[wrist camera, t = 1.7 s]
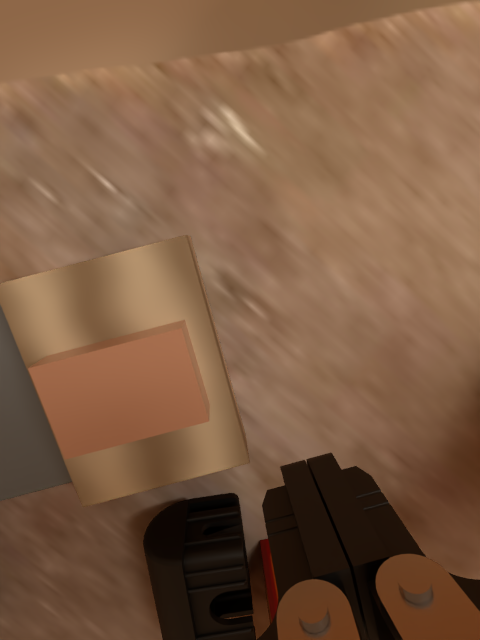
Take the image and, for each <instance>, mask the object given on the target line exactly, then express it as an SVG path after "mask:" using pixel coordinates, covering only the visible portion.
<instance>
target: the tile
mask: <svg viewBox="0 0 480 640" xmlns="http://www.w3.org/2000/svg"><path fill="white" fill-rule="evenodd" d="M28 370H29V372H30V375H31V377H32V380H33V382H34V385H35V387H36V390H37V392H38V395H39V397H40V400H41V402H42V405H43V407H44V409H45V412H46V414H47V417H48V419H49V422H50V424H51V427H52V429H53V432H54V434H55V437H56V439H57V442H58V444H59V447H60V449H61V451H62V454H63V456H64V459H65V460H66V459H69V458H73V457H77V456H81V455H85V454H88V453H92V452H96V451H100V450H103V449H107V448H111V447H115V446H119V445H122V444H126V443H130V442H134V441H137V440H141V439H145V438H149V437H152V436H156V435H160V434H164V433H168V432H171V431H175V430H179V429H183V428H186V427H190V426H194V425H198V424H202V423H205V422H209V417H210V403H209V399H208V396H207V392H206V389H205V386H204V382H203V379H202V376H201V372H200V369H199V365H198V362H197V359H196V355H195V352H194V348H193V345H192V342H191V338H190V335H189V331H188V328H187V325H186V321H185V320H181V321H177V322H174V323H170V324H166V325H162V326H158V327H155V328H151V329H147V330H143V331H139V332H136V333H132V334H128V335H124V336H120V337H117V338H113V339H109V340H105V341H101V342H97V343H94V344H90V345H86V346H82V347H78V348H75V349H71V350H67V351H63V352H59V353H56V354H52V355H48V356H46V357H44V358H43V359H41V360H40V361H38V362H37V363H35V364H34V365H32V366H31V367H29V368H28Z"/></svg>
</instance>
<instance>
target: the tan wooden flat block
mask: <svg viewBox="0 0 480 640" xmlns="http://www.w3.org/2000/svg"><path fill="white" fill-rule="evenodd" d="M0 304H1V307H2V309H3V312H4V314H5V317H6V319H7V321H8V324H9V326H10V329H11V331H12V334H13V336H14V339H15V341H16V344H17V346H18V349H19V351H20V354H21V356H22V358H23V361H24V363H25V366H26V368H27V371H28V373H29V376H30V378H31V381H32V383H33V386H34V388H35V391H36V393H37V395H38V392H37V390H36V387H35V385H34V382H33V380H32V377H31V375H30V372H29V370H28V368H29V367H31V366H32V365H34V364H35V363H37V362H38V361H40V360H41V359H43V358H44V357H46V356H48V355H52V354H56V353H59V352H63V351H67V350H71V349H75V348H78V347H82V346H86V345H90V344H94V343H97V342H101V341H105V340H109V339H113V338H117V337H120V336H124V335H128V334H132V333H136V332H139V331H143V330H147V329H151V328H155V327H158V326H162V325H166V324H170V323H174V322H177V321H181V320H185V321H186V325H187V328H188V331H189V335H190V338H191V342H192V345H193V348H194V352H195V355H196V359H197V362H198V365H199V369H200V372H201V376H202V379H203V382H204V386H205V389H206V392H207V396H208V399H209V403H210V417H209V422H205V423H202V424H198V425H194V426H190V427H186V428H183V429H179V430H175V431H171V432H168V433H164V434H160V435H156V436H152V437H149V438H145V439H141V440H137V441H134V442H130V443H126V444H122V445H119V446H115V447H111V448H107V449H103V450H100V451H96V452H92V453H88V454H85V455H81V456H77V457H73V458H69V459H66V460H65V459H64V456H63V454H62V451H61V449H60V447H59V444H58V442H57V439H56V437H55V434H54V432H53V429H52V427H51V424H50V422H49V419H48V417H47V414H46V412H45V409H44V407H43V405H42V402H41V400H40V397H39V395H38V398H39V400H40V403H41V405H42V408H43V410H44V413H45V415H46V418H47V420H48V423H49V425H50V428H51V430H52V432H53V435H54V437H55V440H56V442H57V445H58V447H59V450H60V452H61V455H62V457H63V460H64V462H65V465H66V467H67V469H68V472H69V474H70V477H71V479H72V482H73V484H74V487H75V489H76V492H77V494H78V497H79V499H80V502H81V504H82V506H83V507H86V506H90V505H94V504H98V503H101V502H105V501H109V500H113V499H116V498H120V497H124V496H128V495H131V494H135V493H139V492H143V491H146V490H150V489H154V488H158V487H161V486H165V485H169V484H173V483H177V482H180V481H184V480H188V479H192V478H195V477H199V476H203V475H207V474H210V473H214V472H218V471H222V470H225V469H229V468H233V467H237V466H240V465H244V464H248V463H250V461H249V455H248V448H247V442H246V435H245V431H244V427H243V424H242V420H241V416H240V413H239V409H238V406H237V402H236V398H235V395H234V391H233V388H232V384H231V380H230V377H229V373H228V370H227V366H226V362H225V359H224V355H223V351H222V348H221V344H220V341H219V337H218V333H217V330H216V326H215V323H214V319H213V315H212V312H211V308H210V305H209V301H208V297H207V294H206V290H205V287H204V283H203V279H202V276H201V272H200V269H199V265H198V261H197V258H196V254H195V250H194V247H193V243H192V240H191V236H188V235H184V236H180V237H176V238H173V239H169V240H165V241H161V242H157V243H153V244H150V245H146V246H142V247H138V248H134V249H130V250H127V251H123V252H119V253H115V254H111V255H107V256H104V257H100V258H96V259H92V260H88V261H84V262H81V263H77V264H73V265H69V266H65V267H61V268H58V269H54V270H50V271H46V272H42V273H38V274H35V275H31V276H27V277H23V278H19V279H15V280H12V281H8V282H4V283H0Z"/></svg>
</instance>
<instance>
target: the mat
mask: <svg viewBox="0 0 480 640" xmlns="http://www.w3.org/2000/svg"><path fill="white" fill-rule="evenodd" d="M70 482H72V479H71V477H70V474H69V472H68V469H67V467H66V465H65V462H64V460H63V457H62V455H61V452H60V450H59V447H58V445H57V442H56V440H55V437H54V435H53V432H52V430H51V428H50V425H49V423H48V420H47V418H46V415H45V413H44V410H43V408H42V405H41V403H40V400H39V398H38V395H37V393H36V391H35V388H34V386H33V383H32V381H31V378H30V376H29V373H28V371H27V368H26V366H25V363H24V361H23V358H22V356H21V354H20V351H19V349H18V346H17V344H16V341H15V339H14V336H13V334H12V331H11V329H10V326H9V324H8V321H7V319H6V317H5V314H4V312H3V309H2V307H1V304H0V501H2V500H6V499H9V498H13V497H17V496H21V495H25V494H28V493H32V492H36V491H40V490H43V489H47V488H51V487H55V486H58V485H62V484H66V483H70Z"/></svg>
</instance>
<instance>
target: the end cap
mask: <svg viewBox="0 0 480 640" xmlns="http://www.w3.org/2000/svg"><path fill="white" fill-rule="evenodd" d="M143 545H144V551H145V556H146V561H147V565H148V570H149V575H150V580H151V585H152V589H153V594H154V599H155V604H156V609H157V614H158V618H159V623H160V628H161V633H162V638H163V640H256V635H255V627H254V625H253V618H252V616H246V617H240V618H234V619H224V618H230V617H236V616H242V615H249V614H253V605H252V595H251V587H250V577H249V569H248V562H247V554H246V547H245V540H244V533H243V525H242V518H241V511H240V504H239V498H238V496H237V495H236V494H235V493H228V494H221V495H214V496H207V497H200V498H193V499H189V500H186V501H182V502H179V503H176V504H174V505H172V506H170V507H167V508H166V509H164V510H163V511H161V512H160V513H159V514H158V515H157V516H156V517H155V518H154V519H153V520H152V521H151V522H150V524H149V526H148V527H147V529H146V532H145V535H144V540H143Z"/></svg>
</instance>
